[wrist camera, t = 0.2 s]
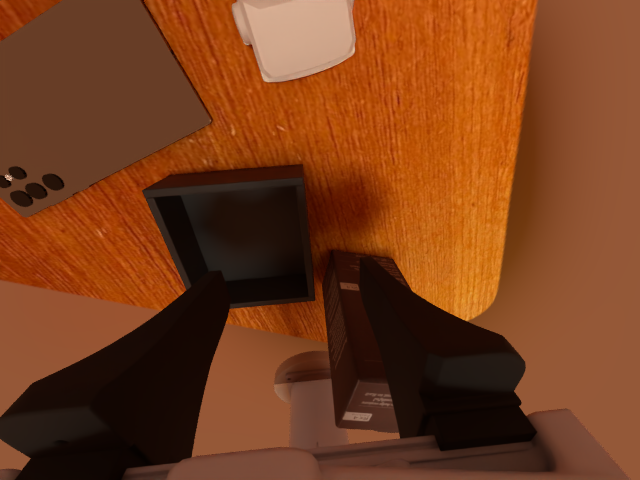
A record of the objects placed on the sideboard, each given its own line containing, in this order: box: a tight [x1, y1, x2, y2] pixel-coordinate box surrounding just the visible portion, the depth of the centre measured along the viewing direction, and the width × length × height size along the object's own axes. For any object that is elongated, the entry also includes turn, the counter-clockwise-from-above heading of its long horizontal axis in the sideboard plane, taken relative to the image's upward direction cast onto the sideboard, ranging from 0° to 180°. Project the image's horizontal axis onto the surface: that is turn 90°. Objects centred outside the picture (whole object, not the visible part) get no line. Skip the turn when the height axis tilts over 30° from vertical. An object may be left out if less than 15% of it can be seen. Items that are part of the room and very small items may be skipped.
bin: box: [142, 164, 315, 309], centre depth 18 cm, size 10×10×4 cm
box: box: [322, 250, 412, 433], centre depth 17 cm, size 6×4×12 cm
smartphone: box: [0, 0, 212, 217], centre depth 15 cm, size 8×1×16 cm
